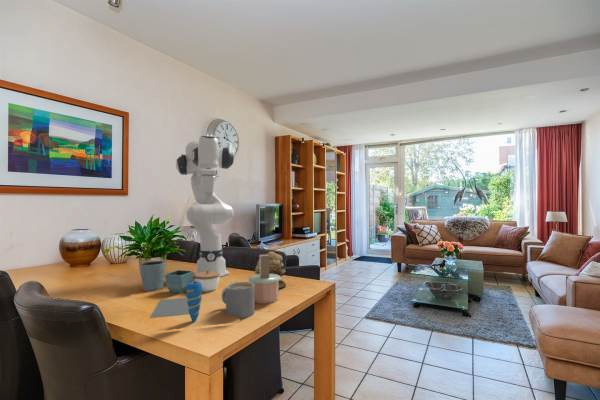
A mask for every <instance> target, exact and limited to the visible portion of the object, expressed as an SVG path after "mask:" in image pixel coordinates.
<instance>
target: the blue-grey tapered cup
mask: <svg viewBox="0 0 600 400" xmlns="http://www.w3.org/2000/svg"><path fill="white" fill-rule="evenodd" d="M139 265H140V271H141V273H140V274H141V282H142V290H143V291H144V292H153V291H154V292H155V291H160V290H162V289H163V288H164V280H165V279H164V278H165V261H164V260H152V261H146V262H141V263H140V264H139Z"/></svg>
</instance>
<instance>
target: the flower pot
mask: <svg viewBox="0 0 600 400" xmlns="http://www.w3.org/2000/svg"><path fill="white" fill-rule="evenodd" d="M194 272H195V271H193V270H181V269H178V270H174V271H172V272H168V273H164V278H165V279H164V280H165V284H166V285H165V286H166V287H167V290H168V291H169V292H170V293H173V294H182V293H185V292H187V289H186V285H187V284H188V283H191V282H193V280H194V277H193V275H194Z"/></svg>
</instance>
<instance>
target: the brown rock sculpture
mask: <svg viewBox="0 0 600 400" xmlns="http://www.w3.org/2000/svg"><path fill="white" fill-rule="evenodd" d="M267 254H268V255H269V274H277V275H279V276H280V278H281V277H283V276H284V275H285V273H286V270H285V268H284V263H283V257H282V255H280V254H277V253H275V252H274V251H269V252H268V253H267ZM256 274H260V258H259V259H258V260H257V262H256V266H255V271H254V275H256ZM286 286H287V283H286V282H285V281H284V280H281V279H280V281H279V291H281V290H283V289H285V288H286Z"/></svg>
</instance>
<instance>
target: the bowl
mask: <svg viewBox="0 0 600 400" xmlns="http://www.w3.org/2000/svg"><path fill="white" fill-rule="evenodd" d="M253 284H254V304H258V305H259V304H260V305H265V304H267V305H268V304H272V303H276V302H277V301H278V300H279V297H280V295H279V291H280V290H279V281H278V282H275V283H270V284H255V283H253Z"/></svg>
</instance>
